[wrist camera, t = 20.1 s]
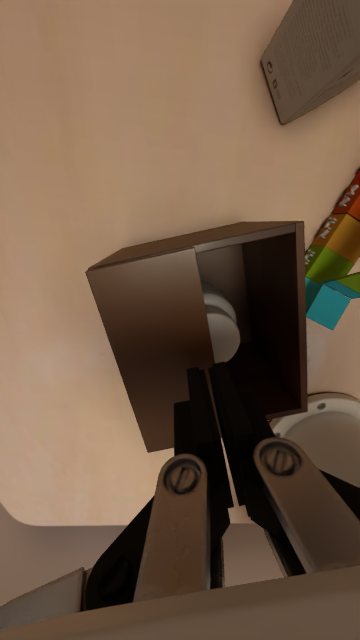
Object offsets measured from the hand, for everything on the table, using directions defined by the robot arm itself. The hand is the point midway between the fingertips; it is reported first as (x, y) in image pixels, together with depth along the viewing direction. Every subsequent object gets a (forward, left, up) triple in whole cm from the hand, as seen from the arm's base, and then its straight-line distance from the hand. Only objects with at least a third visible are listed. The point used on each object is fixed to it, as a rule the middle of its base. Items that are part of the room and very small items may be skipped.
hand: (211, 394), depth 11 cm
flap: (+1, +2, -2) cm, 3 cm away
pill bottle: (0, -1, -12) cm, 12 cm away
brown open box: (+1, -1, -12) cm, 12 cm away
